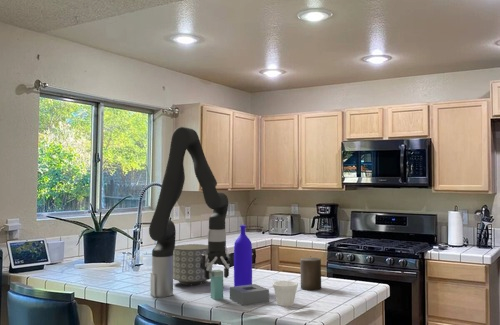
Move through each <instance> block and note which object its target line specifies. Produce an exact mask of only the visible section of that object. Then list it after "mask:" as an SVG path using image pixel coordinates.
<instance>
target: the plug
mask: <svg viewBox="0 0 500 325" xmlns="http://www.w3.org/2000/svg"><path fill="white" fill-rule="evenodd" d="M210 298H211V299H212V300H214V301H215V300H216V301H217V300H223V299H224V270H221V269H214V270H213V269H212V270H211V279H210Z"/></svg>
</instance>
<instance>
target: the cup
mask: <svg viewBox="0 0 500 325" xmlns="http://www.w3.org/2000/svg"><path fill="white" fill-rule="evenodd" d="M272 288H273V289H274V294H275V298H276V303H277V305H278V306H281V307H291V306H293V305H294V303H295V298H296V293H297V289H298V282H296V281H292V280H291V281H290V280H277V281H273V283H272Z"/></svg>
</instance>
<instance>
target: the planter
mask: <svg viewBox="0 0 500 325" xmlns="http://www.w3.org/2000/svg"><path fill="white" fill-rule="evenodd" d="M201 254H203V255H207V254H208V244H202V243H200V244H199V243H189V244H186V243H185V244H178V245H175V248H174V251H173V281H177V282H179V283H180V284H183V285H185V286H190V287H191V286H193V287H194V286H199V285H202V284H204V283H206V282H207V281H208V280H207V279H206V278H205V277H204V270H203V269H201V268H200V260H201ZM208 260H209V259H208V258H207V259H206V260H205V266H206V264H207V262H208ZM211 270H213V265H212V266H211V267H210V269H209V270H208V271H209V280H211Z"/></svg>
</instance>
